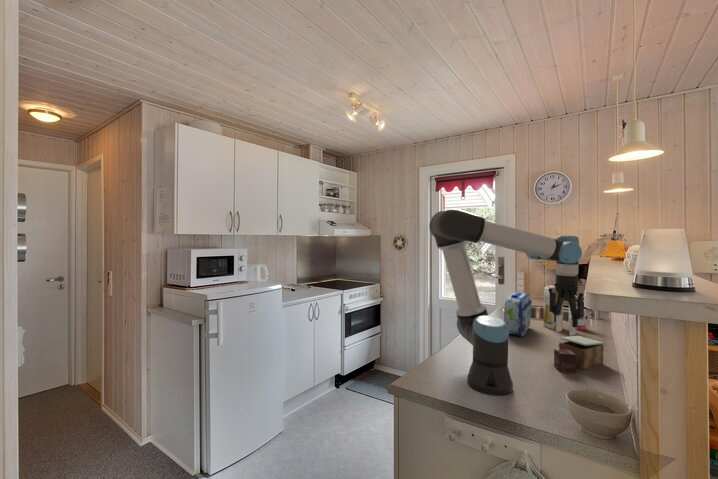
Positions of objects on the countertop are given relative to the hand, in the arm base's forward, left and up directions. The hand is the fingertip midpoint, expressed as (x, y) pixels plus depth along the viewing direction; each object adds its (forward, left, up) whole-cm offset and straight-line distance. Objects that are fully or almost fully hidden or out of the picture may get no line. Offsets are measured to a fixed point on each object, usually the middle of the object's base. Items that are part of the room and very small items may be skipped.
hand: (565, 332), depth 133 cm
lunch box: (+28, +42, -15) cm, 53 cm away
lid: (+13, +1, -6) cm, 14 cm away
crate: (+13, +1, -15) cm, 20 cm away
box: (0, 0, -15) cm, 15 cm away
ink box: (+64, +31, -15) cm, 73 cm away
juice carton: (+53, +38, -15) cm, 67 cm away
